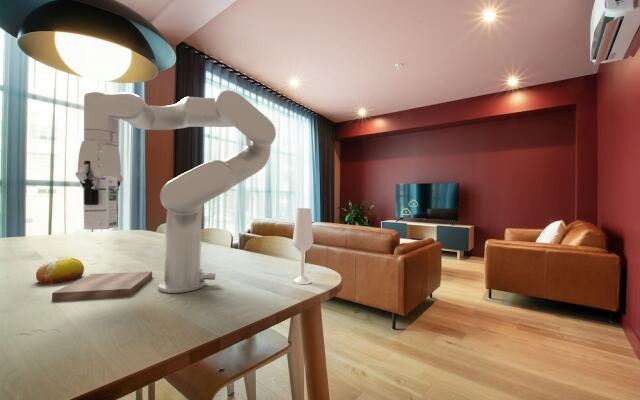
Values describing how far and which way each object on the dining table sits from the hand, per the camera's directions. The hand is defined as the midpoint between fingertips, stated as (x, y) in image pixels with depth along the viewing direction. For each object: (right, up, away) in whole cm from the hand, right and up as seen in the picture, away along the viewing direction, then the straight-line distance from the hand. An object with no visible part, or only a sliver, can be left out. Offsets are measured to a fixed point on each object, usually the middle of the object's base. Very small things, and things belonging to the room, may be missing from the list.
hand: (101, 204), depth 75 cm
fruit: (-22, -24, +11) cm, 34 cm away
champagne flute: (+54, -26, +14) cm, 62 cm away
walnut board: (-1, -24, +4) cm, 25 cm away
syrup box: (0, -7, 0) cm, 7 cm away
